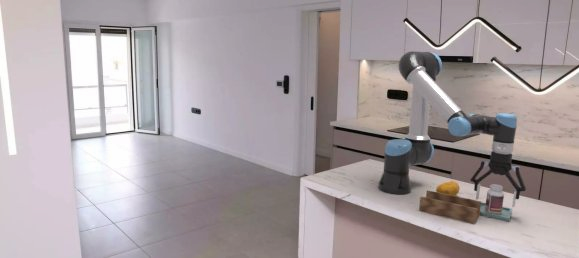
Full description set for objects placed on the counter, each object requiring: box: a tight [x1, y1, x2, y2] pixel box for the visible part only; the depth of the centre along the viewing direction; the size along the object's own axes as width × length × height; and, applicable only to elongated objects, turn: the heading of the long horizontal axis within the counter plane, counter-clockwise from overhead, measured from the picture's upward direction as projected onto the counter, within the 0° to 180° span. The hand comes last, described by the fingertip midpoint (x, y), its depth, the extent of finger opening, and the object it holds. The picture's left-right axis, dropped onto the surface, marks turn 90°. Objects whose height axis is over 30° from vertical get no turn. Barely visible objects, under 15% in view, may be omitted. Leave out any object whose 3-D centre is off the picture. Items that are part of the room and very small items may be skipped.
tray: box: [479, 201, 513, 222], centre depth 166 cm, size 13×13×2 cm
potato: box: [435, 180, 460, 196], centre depth 182 cm, size 7×14×7 cm, turn 128°
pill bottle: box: [485, 183, 505, 214], centre depth 165 cm, size 6×6×11 cm
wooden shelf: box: [418, 189, 482, 225], centre depth 164 cm, size 21×10×6 cm, turn 57°
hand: (494, 202), depth 165 cm, fingers open, 13 cm apart
